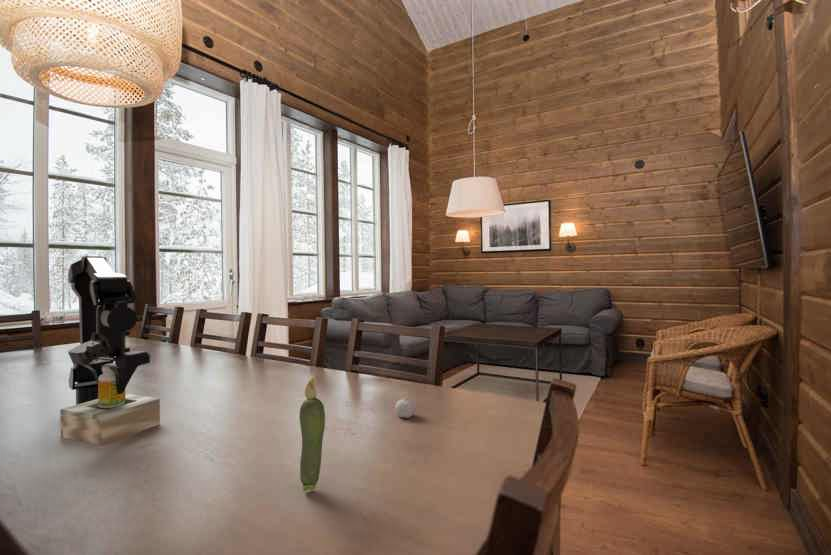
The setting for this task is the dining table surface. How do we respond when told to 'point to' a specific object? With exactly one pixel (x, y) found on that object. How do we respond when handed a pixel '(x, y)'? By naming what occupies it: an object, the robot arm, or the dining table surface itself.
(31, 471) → the dining table surface
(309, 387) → the vegetable
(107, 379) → the supplement bottle
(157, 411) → the crate
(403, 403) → the garlic
